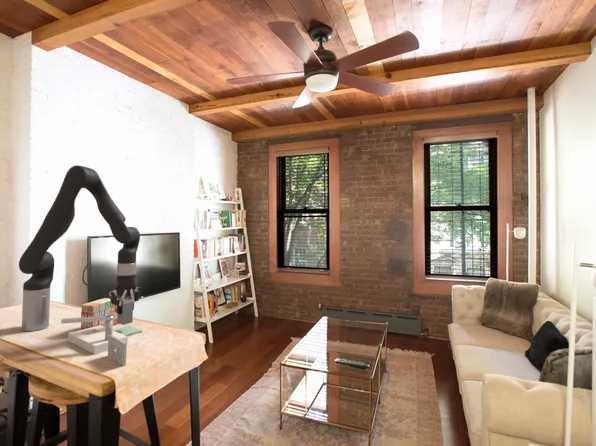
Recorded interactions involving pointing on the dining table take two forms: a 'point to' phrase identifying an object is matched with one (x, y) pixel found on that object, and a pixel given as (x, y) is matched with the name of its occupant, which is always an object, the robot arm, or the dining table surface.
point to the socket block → (95, 337)
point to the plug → (126, 312)
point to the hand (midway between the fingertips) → (125, 312)
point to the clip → (87, 319)
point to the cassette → (117, 350)
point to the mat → (128, 330)
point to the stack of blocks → (98, 312)
